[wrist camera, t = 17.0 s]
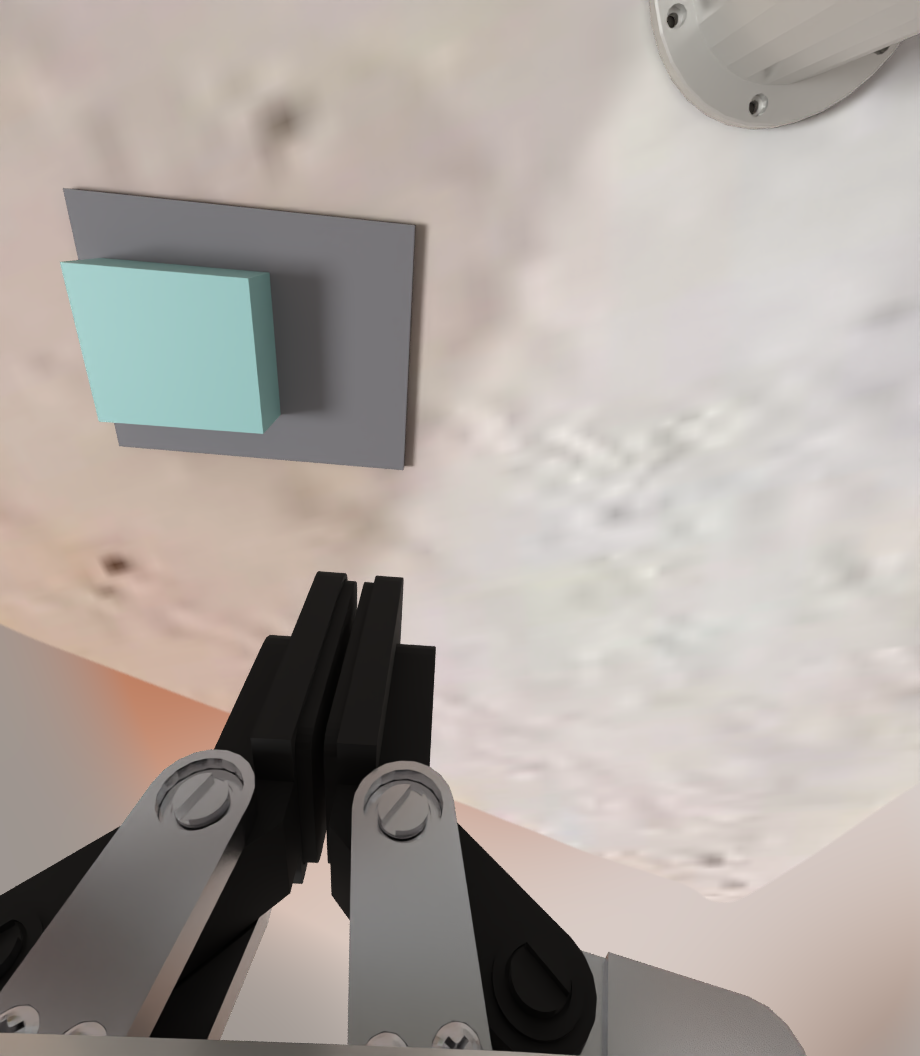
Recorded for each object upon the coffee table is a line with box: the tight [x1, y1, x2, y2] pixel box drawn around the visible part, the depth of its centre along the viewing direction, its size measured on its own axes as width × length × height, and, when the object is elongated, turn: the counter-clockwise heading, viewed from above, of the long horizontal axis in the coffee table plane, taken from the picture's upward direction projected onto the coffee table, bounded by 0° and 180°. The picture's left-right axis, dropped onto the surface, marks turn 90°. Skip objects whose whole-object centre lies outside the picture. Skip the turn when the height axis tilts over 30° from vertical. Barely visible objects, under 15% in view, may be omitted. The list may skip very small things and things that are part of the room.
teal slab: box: [60, 258, 281, 434], centre depth 30 cm, size 8×4×9 cm
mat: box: [63, 188, 415, 470], centre depth 32 cm, size 14×18×1 cm
